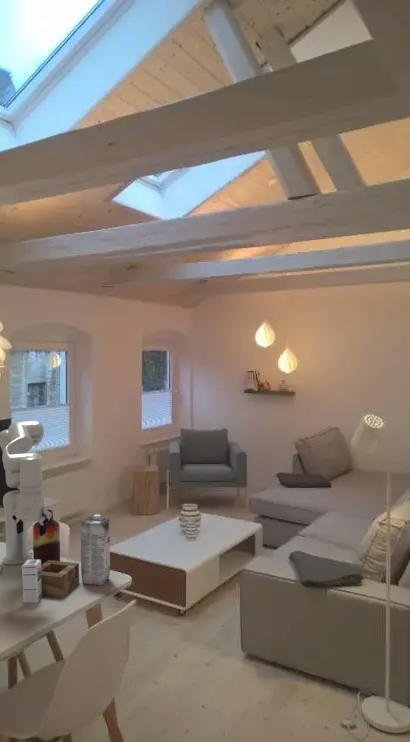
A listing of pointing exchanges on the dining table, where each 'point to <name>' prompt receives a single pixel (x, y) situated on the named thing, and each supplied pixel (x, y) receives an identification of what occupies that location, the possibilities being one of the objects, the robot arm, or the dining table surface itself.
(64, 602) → the dining table surface
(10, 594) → the dining table surface
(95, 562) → the juice carton
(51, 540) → the vase
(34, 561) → the syrup box
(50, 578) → the socket block
